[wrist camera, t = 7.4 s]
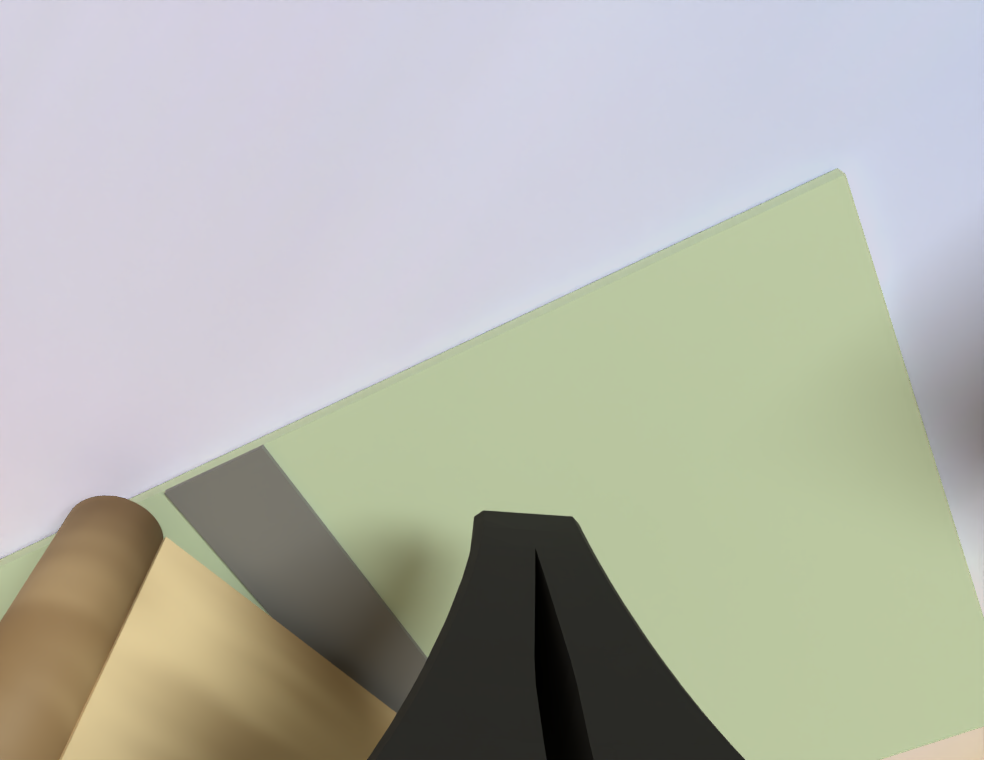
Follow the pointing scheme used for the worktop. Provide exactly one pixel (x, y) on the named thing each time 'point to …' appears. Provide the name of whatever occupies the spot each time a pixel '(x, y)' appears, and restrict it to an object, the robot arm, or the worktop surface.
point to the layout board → (641, 491)
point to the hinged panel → (162, 659)
